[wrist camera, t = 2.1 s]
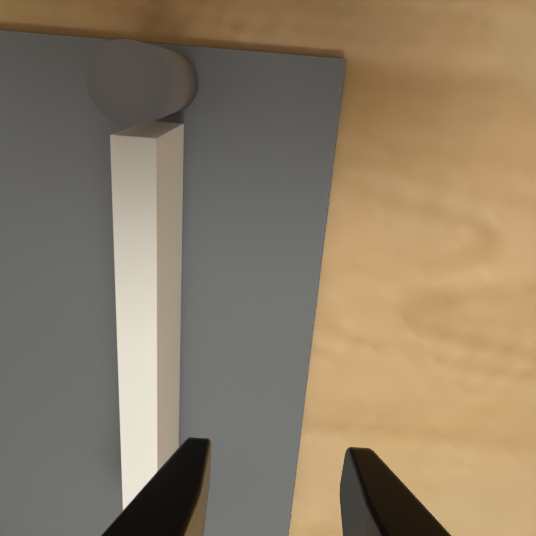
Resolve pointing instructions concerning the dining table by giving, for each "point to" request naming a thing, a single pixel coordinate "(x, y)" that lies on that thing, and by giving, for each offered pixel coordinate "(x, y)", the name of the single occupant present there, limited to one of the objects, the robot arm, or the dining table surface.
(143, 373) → the gate
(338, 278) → the dining table surface
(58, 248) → the plate with peg
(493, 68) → the dining table surface
